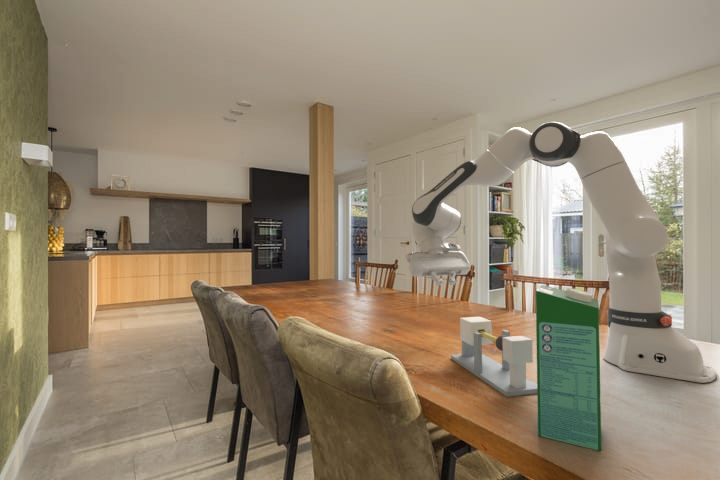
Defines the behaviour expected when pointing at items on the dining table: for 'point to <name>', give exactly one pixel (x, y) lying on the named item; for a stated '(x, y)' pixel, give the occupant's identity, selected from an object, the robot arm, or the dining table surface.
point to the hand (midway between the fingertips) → (446, 284)
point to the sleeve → (474, 329)
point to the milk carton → (568, 366)
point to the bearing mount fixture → (499, 376)
